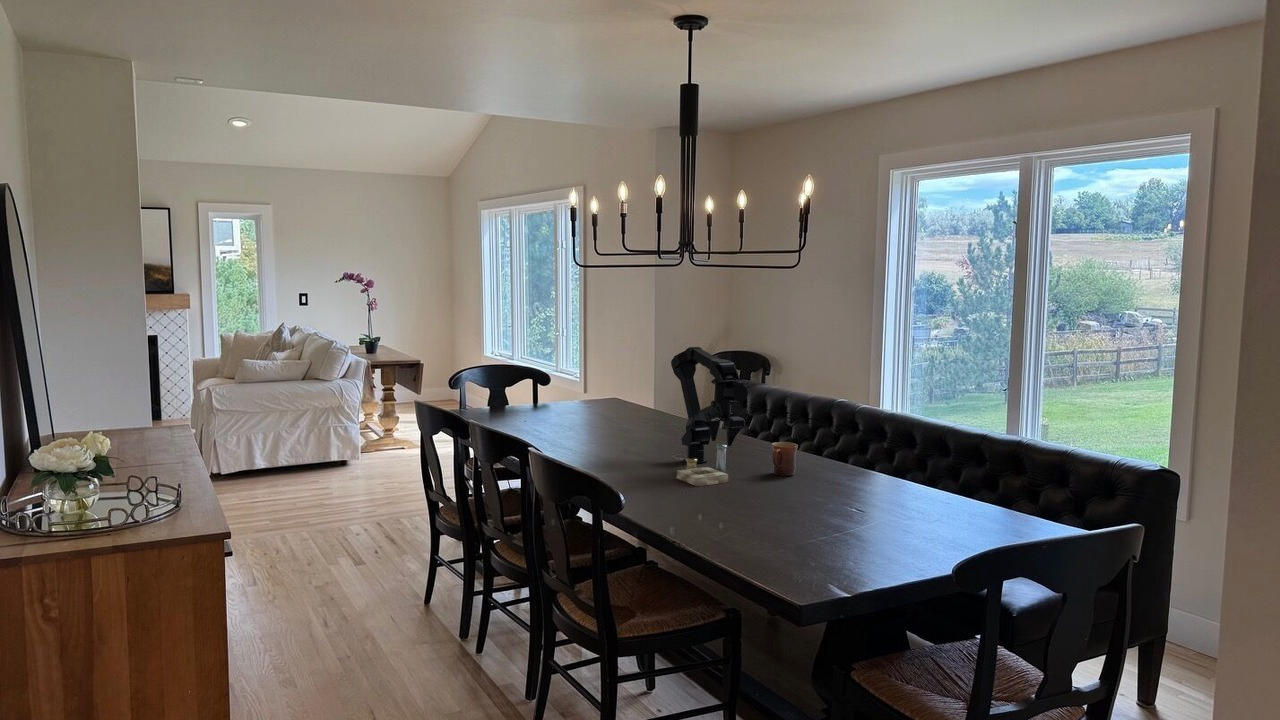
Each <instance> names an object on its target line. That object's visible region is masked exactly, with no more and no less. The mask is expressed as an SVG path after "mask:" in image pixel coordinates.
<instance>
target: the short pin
mask: <svg viewBox="0 0 1280 720" xmlns="http://www.w3.org/2000/svg"><path fill="white" fill-rule="evenodd" d="M685 459H686V461H685V462H686V469H693V468H697V463H696V462H697V458H687V457H686V458H685Z"/></svg>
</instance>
